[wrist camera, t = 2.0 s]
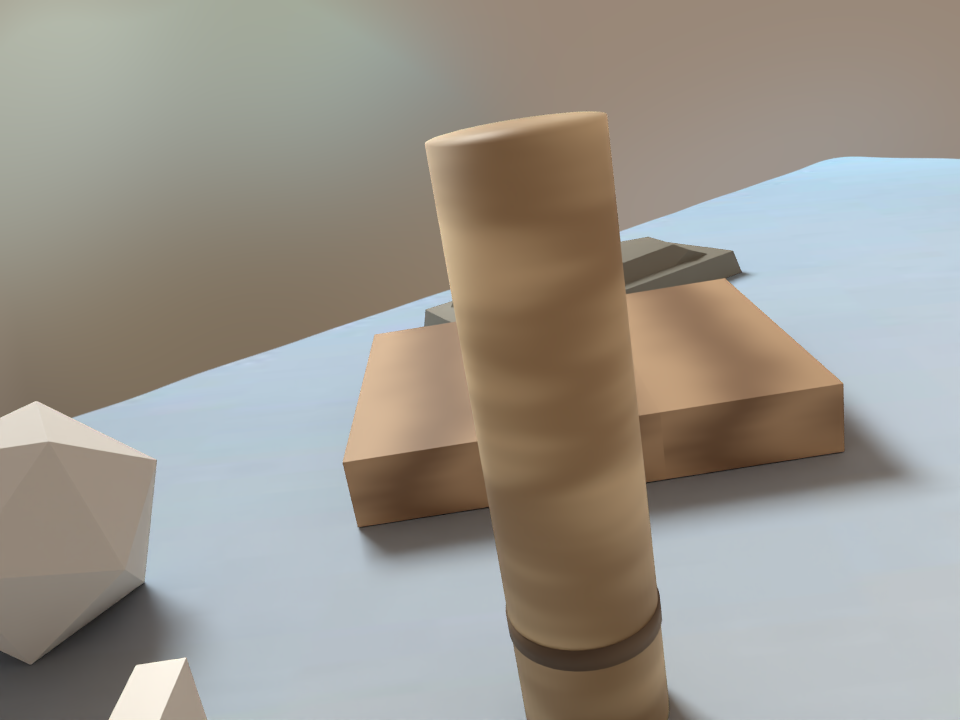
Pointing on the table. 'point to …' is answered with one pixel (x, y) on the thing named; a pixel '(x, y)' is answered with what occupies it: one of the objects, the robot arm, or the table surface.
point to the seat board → (660, 397)
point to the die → (66, 527)
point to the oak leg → (555, 407)
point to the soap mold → (648, 269)
